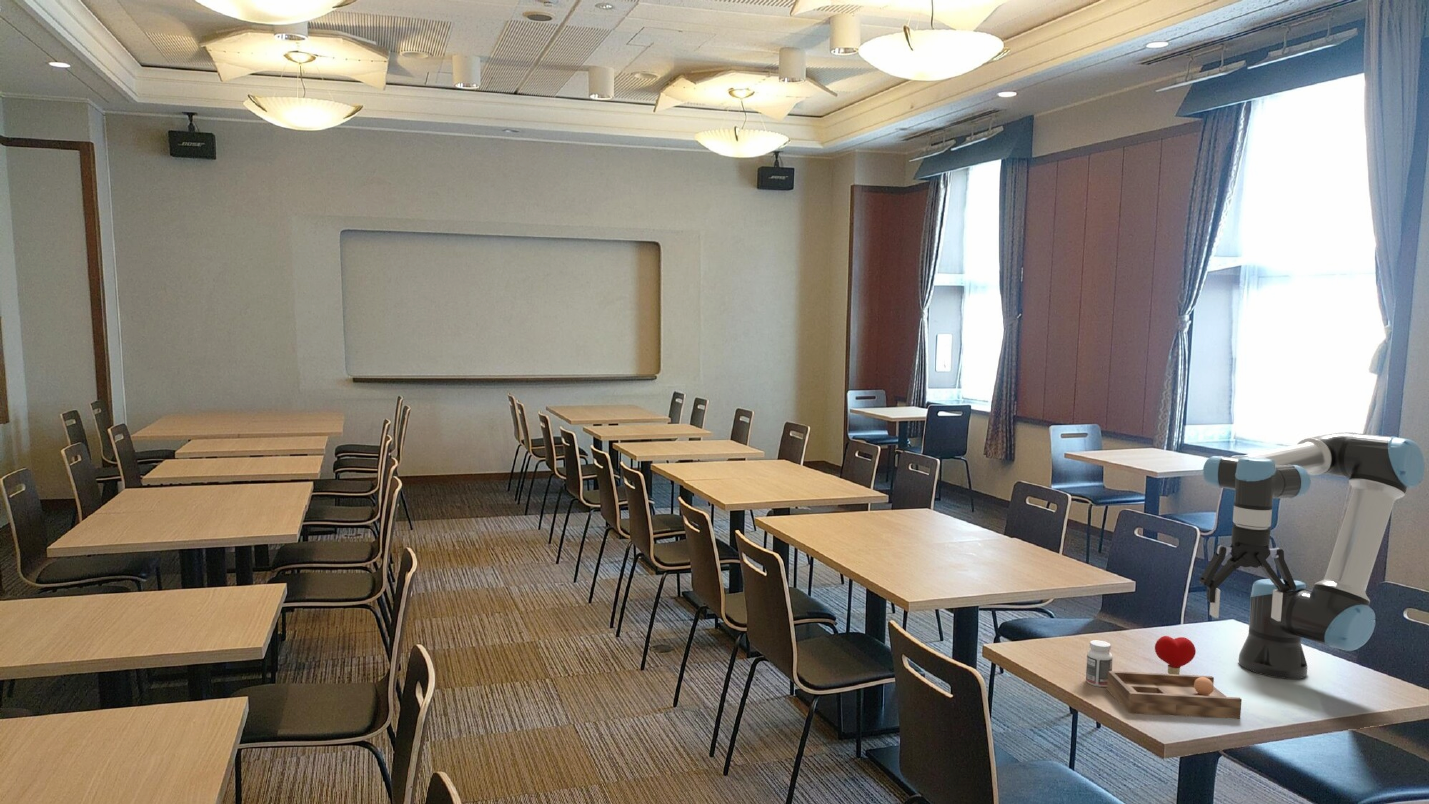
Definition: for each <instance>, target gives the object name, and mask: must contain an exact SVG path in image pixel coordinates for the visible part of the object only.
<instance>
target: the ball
mask: <svg viewBox="0 0 1429 804" xmlns="http://www.w3.org/2000/svg"><path fill="white" fill-rule="evenodd" d="M1214 687H1215V686H1214V683H1212V682H1211V680H1209V679H1208V678H1205V677H1200V678H1198V679H1196V680H1195V682H1194V688H1195V690H1196V691H1197V692H1198V693H1199V694H1201V695H1209V694H1211V693H1212V692H1213V689H1214Z"/></svg>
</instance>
